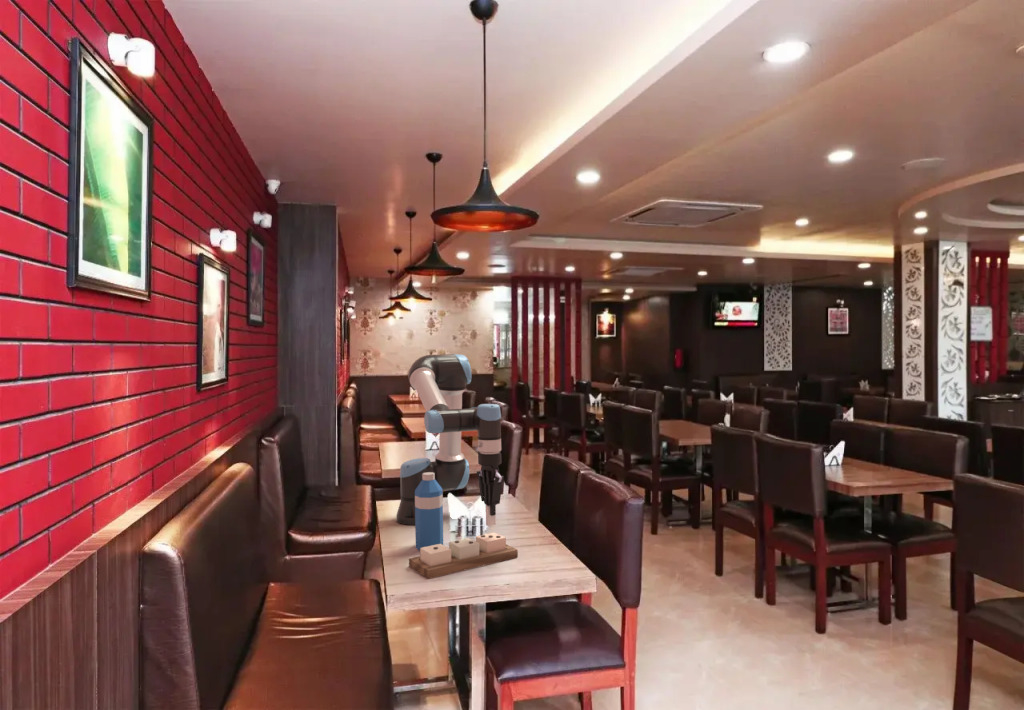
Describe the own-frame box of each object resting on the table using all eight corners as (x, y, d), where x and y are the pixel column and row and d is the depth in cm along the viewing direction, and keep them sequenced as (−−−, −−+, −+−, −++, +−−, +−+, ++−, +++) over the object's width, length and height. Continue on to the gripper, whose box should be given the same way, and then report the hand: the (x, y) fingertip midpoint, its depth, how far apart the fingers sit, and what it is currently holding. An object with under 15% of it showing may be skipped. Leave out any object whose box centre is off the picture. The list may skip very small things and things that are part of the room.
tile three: (476, 548, 213) (475, 535, 213) (494, 544, 217) (494, 531, 217) (487, 554, 207) (487, 540, 207) (505, 549, 211) (505, 536, 211)
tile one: (420, 560, 202) (420, 546, 202) (440, 556, 206) (440, 542, 206) (430, 567, 196) (430, 552, 196) (451, 562, 200) (451, 548, 200)
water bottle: (449, 545, 223) (447, 472, 223) (431, 553, 216) (430, 477, 215) (428, 540, 229) (426, 469, 228) (409, 548, 221) (408, 474, 220)
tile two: (449, 554, 208) (448, 540, 207) (468, 550, 212) (467, 536, 211) (460, 560, 202) (459, 546, 202) (479, 555, 206) (479, 542, 206)
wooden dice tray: (409, 566, 203) (408, 558, 203) (495, 546, 221) (495, 539, 221) (428, 578, 192) (428, 570, 192) (517, 557, 210) (517, 549, 210)
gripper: (469, 450, 215) (470, 522, 215) (490, 455, 204) (491, 531, 204) (488, 448, 219) (489, 518, 219) (510, 453, 208) (511, 527, 209)
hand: (490, 524), depth 212 cm, fingers closed
